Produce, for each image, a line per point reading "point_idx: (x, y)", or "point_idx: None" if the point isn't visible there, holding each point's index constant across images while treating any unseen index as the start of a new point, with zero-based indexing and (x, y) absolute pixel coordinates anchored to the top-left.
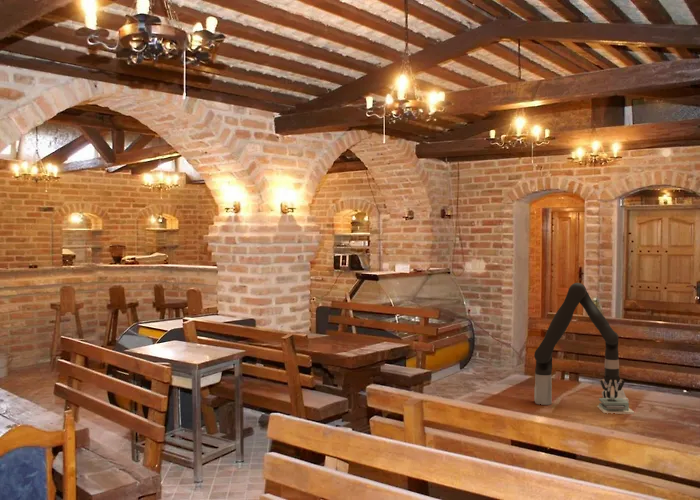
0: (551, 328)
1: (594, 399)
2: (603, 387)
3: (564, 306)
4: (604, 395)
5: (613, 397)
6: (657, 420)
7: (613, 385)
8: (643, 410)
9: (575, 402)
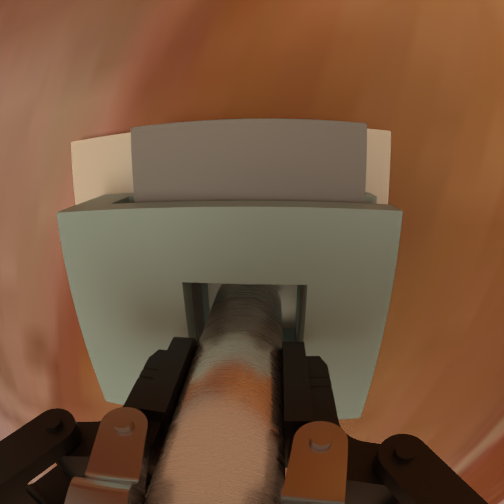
0: None
1: None
2: (452, 478)
3: None
4: None
5: (224, 332)
6: (10, 10)
7: None
8: (16, 262)
9: (438, 431)
